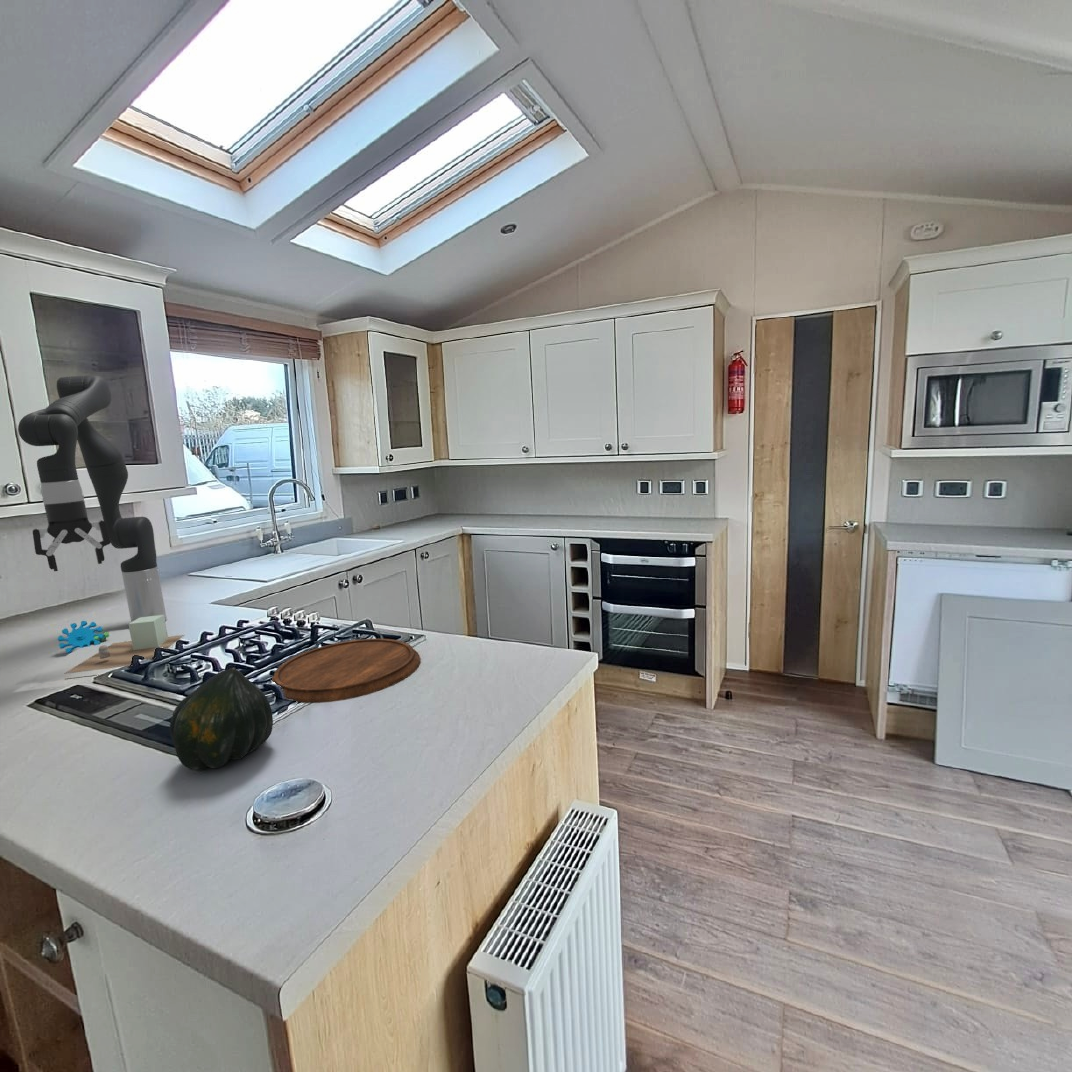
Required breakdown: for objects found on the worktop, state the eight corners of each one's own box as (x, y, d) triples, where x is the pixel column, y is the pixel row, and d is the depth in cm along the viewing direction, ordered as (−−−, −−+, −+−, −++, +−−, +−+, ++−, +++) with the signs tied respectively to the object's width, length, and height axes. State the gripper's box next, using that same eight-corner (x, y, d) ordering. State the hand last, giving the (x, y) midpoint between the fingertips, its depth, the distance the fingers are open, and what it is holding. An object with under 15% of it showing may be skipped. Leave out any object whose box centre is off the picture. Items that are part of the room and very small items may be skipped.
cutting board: (234, 697, 121) (232, 685, 121) (336, 643, 151) (335, 634, 150) (363, 711, 110) (361, 698, 109) (445, 650, 139) (444, 640, 139)
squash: (131, 750, 89) (183, 676, 87) (193, 709, 103) (239, 645, 102) (207, 806, 89) (261, 733, 87) (258, 757, 104) (305, 694, 102)
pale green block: (144, 642, 157) (139, 617, 156) (168, 639, 158) (164, 614, 157) (133, 649, 151) (128, 624, 150) (158, 646, 152) (153, 621, 151)
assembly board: (114, 648, 159) (110, 629, 158) (186, 640, 162) (182, 620, 161) (65, 679, 138) (60, 657, 137) (148, 669, 140) (144, 647, 140)
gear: (53, 653, 153) (61, 620, 159) (58, 664, 157) (66, 631, 163) (104, 650, 158) (110, 618, 163) (108, 660, 162) (114, 629, 168)
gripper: (99, 496, 146) (112, 559, 149) (24, 503, 137) (39, 571, 140) (102, 497, 140) (115, 563, 143) (24, 505, 131) (40, 575, 134)
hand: (78, 567), depth 141 cm, fingers open, 8 cm apart
